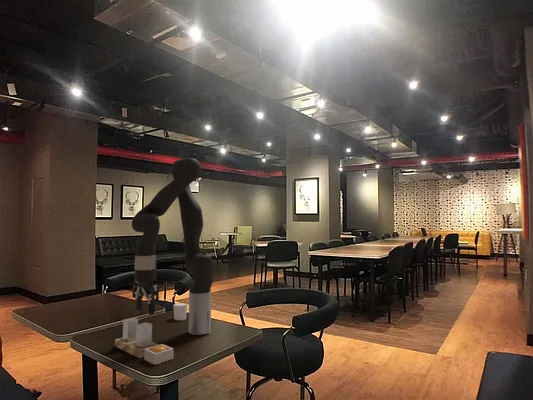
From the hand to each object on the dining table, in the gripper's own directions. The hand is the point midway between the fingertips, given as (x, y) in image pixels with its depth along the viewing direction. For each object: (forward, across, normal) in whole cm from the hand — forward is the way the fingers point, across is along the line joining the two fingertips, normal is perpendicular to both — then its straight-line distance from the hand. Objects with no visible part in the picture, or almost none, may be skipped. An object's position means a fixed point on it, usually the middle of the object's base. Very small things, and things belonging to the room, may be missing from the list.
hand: (145, 312), depth 129 cm
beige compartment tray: (+14, -5, 0) cm, 15 cm away
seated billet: (+14, -10, 0) cm, 18 cm away
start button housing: (+14, +10, 0) cm, 17 cm away
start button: (+13, +10, 0) cm, 16 cm away
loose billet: (+14, 0, 0) cm, 14 cm away
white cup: (+15, -28, +35) cm, 47 cm away
